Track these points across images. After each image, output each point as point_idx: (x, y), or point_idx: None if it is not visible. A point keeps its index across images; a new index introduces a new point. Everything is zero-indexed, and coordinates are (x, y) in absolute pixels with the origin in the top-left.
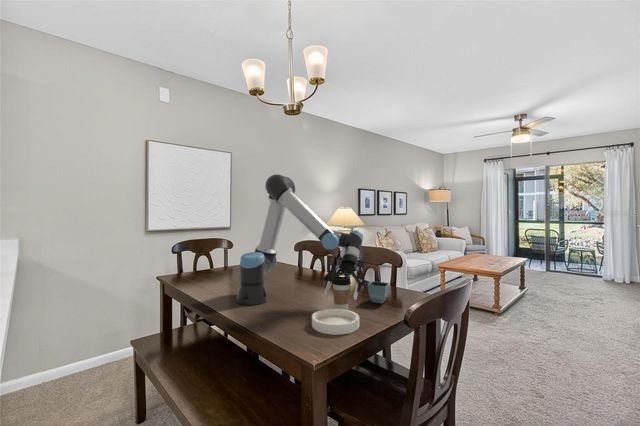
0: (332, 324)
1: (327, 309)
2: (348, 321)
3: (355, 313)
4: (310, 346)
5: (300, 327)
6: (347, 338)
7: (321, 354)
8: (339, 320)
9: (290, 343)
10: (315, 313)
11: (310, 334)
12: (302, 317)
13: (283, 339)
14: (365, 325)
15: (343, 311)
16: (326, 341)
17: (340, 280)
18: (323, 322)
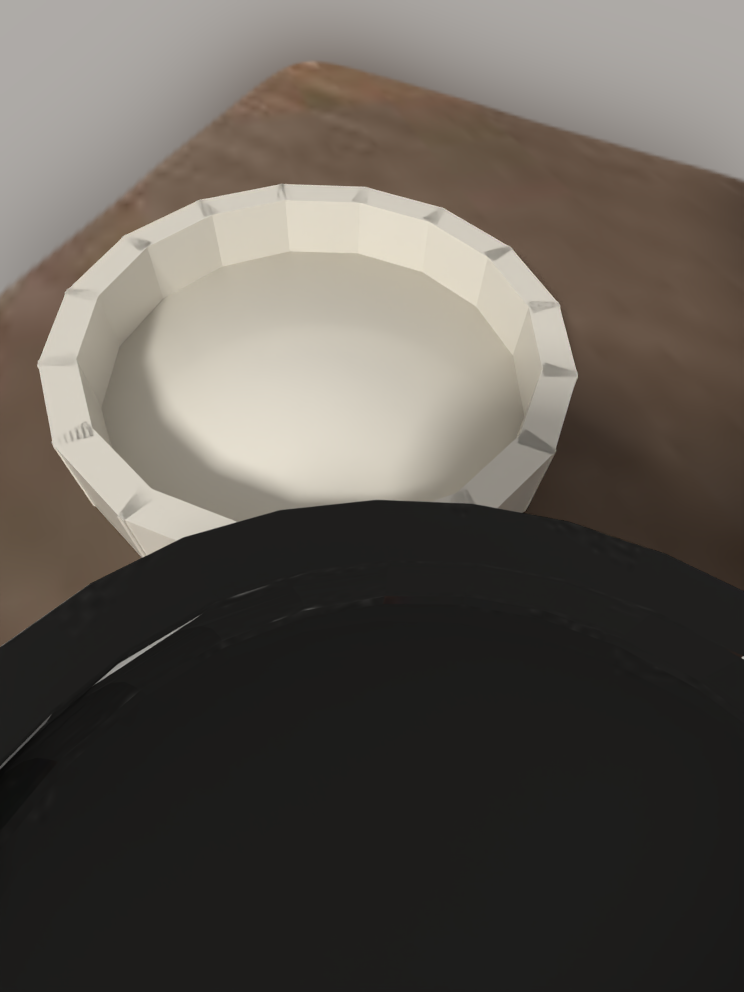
0: (293, 191)
1: (485, 496)
2: (188, 434)
3: (81, 457)
4: (378, 134)
5: (580, 299)
6: None
7: (294, 95)
8: (289, 435)
9: (499, 138)
10: (552, 348)
11: None
12: (720, 485)
13: (565, 160)
14: (9, 462)
15: None
16: (309, 183)
17: (390, 514)
18: (379, 205)
